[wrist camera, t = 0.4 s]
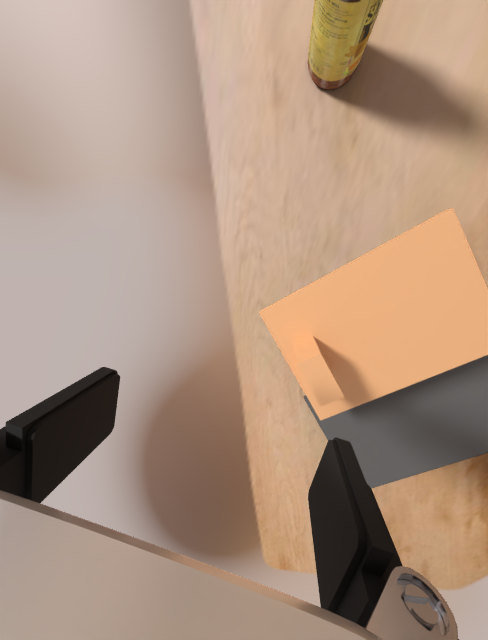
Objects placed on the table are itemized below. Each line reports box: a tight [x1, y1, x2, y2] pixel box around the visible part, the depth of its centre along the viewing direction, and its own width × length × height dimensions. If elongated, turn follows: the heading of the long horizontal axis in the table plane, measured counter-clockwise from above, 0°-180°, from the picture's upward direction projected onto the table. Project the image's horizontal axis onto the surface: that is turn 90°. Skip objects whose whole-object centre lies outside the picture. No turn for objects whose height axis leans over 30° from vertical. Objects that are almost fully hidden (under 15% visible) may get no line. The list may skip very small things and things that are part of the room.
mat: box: [304, 355, 488, 488], centre depth 38 cm, size 26×20×1 cm
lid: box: [259, 208, 488, 421], centre depth 26 cm, size 22×16×8 cm
